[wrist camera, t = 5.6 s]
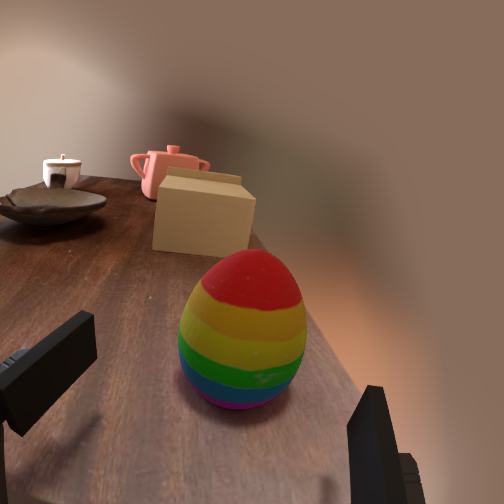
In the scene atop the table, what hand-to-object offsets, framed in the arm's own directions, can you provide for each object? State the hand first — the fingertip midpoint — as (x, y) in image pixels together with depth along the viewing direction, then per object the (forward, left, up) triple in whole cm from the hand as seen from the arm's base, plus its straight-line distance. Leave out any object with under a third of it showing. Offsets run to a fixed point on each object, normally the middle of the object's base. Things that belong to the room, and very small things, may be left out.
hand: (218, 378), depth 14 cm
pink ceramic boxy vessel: (+45, -64, -6) cm, 78 cm away
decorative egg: (+1, -7, -6) cm, 9 cm away
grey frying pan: (+44, -24, -6) cm, 50 cm away
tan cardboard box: (+19, -36, -6) cm, 41 cm away
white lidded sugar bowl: (+66, -44, -6) cm, 79 cm away
